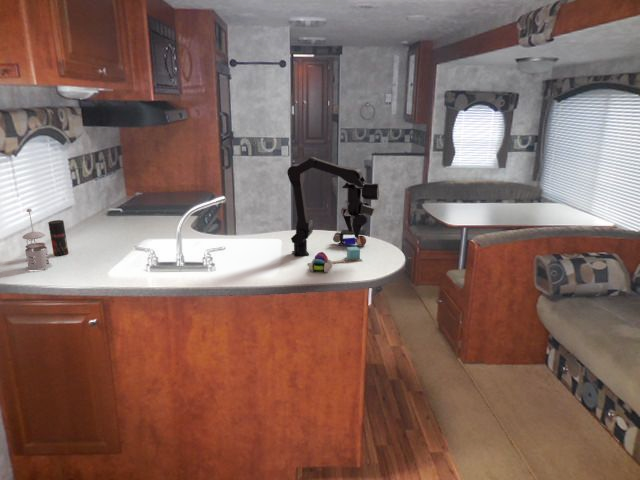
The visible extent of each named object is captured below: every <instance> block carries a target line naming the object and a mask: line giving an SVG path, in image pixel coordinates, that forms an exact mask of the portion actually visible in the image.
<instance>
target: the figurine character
mask: <svg viewBox="0 0 640 480" xmlns="http://www.w3.org/2000/svg"><path fill="white" fill-rule="evenodd" d="M366 231H367V229H361V230H360V233H359V236H358V238H355V237H346V238H344V235H345V236H347V235H349V236H350V235H351V236H353V235H354V232H353V229H352V232H349V230H348V229H341V230H340V231H337V232H335V233H334V235H333V237H332V240H333V242H334V243H338V244H337V246H340V247H341V246H346V245H348V246H349V245H357V247H364V246H365V245H366V243H367V238H366V237H365V234H366ZM354 236H355V235H354Z"/></svg>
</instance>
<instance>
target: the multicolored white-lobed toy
mask: <svg viewBox="0 0 640 480" xmlns="http://www.w3.org/2000/svg"><path fill="white" fill-rule="evenodd" d="M309 263H310V264H309V265H308V269H309V271H310V272H312V273H313V272H315V271H322V270H323V271H324V273H326V274H327V273H328V272H330V269H332V268H333V265H334V263H332V260H331V259H329V258H328V256H327V254H326V253H325V252H324V251H320V252H318V253H317V254H316V255H314V258H313V259H312V261H311V262H309Z"/></svg>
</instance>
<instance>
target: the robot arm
mask: <svg viewBox="0 0 640 480" xmlns="http://www.w3.org/2000/svg"><path fill="white" fill-rule="evenodd" d="M311 169H316V170H319V171H323V172H325V173H328V174H331V175H335V176H338V177H339V178H341V179H342V180H343V181H345V184H344V185H343V186H342V187H341V188H342V189H347V190H346V191H347V192H346V196H347V197H346V198H347V199H346V200H345V203H346V206H344V207H342V208H341V209H340V214H341V216H342V219H343V221H344V223H345V225H346V229H347V230H349V232H352V230H353V232H354V238H355V239H356V238H358V236H360V235H359V233H360V230H362V227H363V226H364V225H366V224H367V223H368V217H366V215H368V216H373V214H374V210H375V208H374V207H372V206H371V205H370V204H369V203H368V202H366V201H367V200H368V201H369V200H371V201H379V199H380V187H379V183H368V182H367V180H366V179H365V178H364V176H363V173H362V172H363V171H362V170H361V169H360V168H357V167H350V166H342V165H338V164H336V163H333V162H330V161H327V160H323V159H321V158H317V157H315V156H312V157H310V158H308V159H307V160H305V161H304V162H302V163H296V164H294V165H291V166H290V167H288V169H287V173H286V174H287V176H288V180H289V183H290V184H291V186H292V188H293V197H294V203H295V210H296V217H297V221H296V225H295V234H294V235H293V236H291V238H290V239H291V243H293V250H292V251H291V252H292V254H293V256H294V257H300V256H301V257H303V256H309V255H310V253H309V252H308V242H307V241H308V240H307V239H308V238H309V236H310V235H312V234H313V231H314V229H315V227H314V223H313V221H314V220H313V219H309V216H308V211H307V209H308V208H307V203H306V195H305V188H304V183H305V178H306V177H305V176H306V173H305V172H306V171H308V170H311ZM361 198H363V199H364V200H366V201H364V202H363V201H362V199H361ZM364 214H366V215H364Z"/></svg>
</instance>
